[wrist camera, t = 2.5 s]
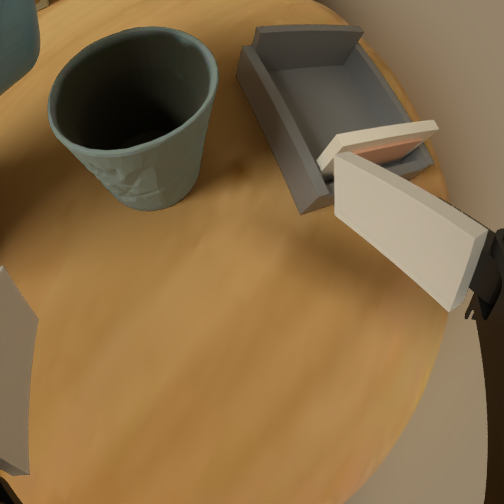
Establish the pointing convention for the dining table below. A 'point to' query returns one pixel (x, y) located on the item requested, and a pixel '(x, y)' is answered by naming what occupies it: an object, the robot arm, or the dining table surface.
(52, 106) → the grey-green cup
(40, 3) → the skincare box
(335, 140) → the pusher
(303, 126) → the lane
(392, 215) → the robot arm
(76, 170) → the dining table surface
